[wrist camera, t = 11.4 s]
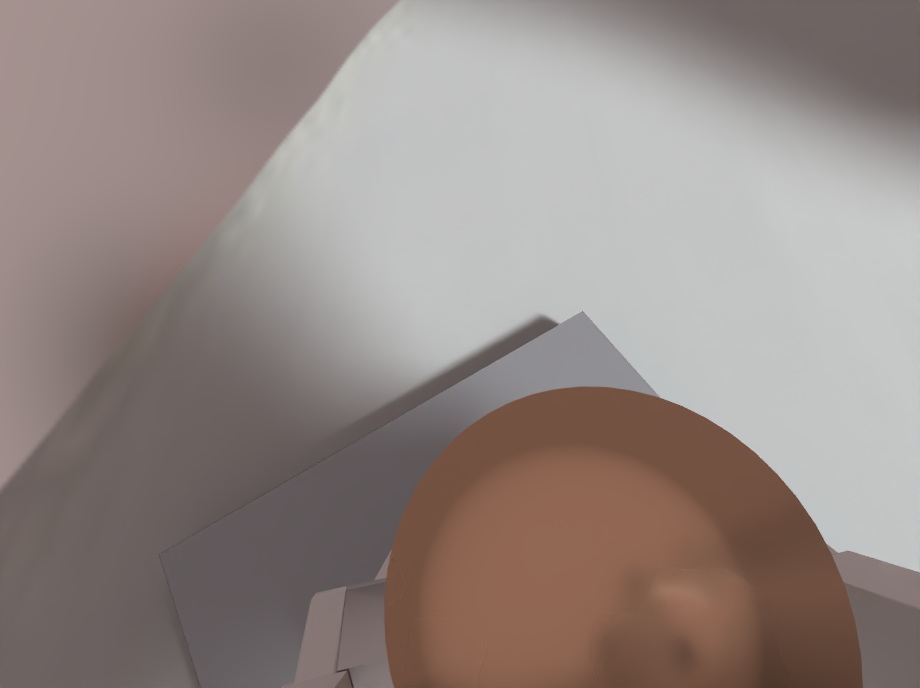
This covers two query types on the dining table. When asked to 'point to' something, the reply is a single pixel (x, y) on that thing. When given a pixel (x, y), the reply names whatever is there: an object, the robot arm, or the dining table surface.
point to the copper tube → (611, 558)
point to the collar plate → (348, 514)
